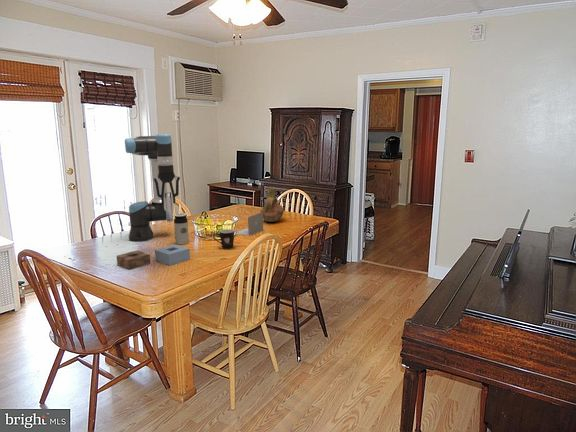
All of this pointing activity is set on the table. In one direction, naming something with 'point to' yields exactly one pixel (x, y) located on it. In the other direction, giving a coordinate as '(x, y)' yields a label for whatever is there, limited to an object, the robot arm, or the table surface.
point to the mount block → (133, 259)
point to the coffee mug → (226, 238)
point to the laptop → (253, 225)
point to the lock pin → (168, 206)
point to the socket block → (172, 254)
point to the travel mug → (181, 229)
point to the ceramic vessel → (272, 207)
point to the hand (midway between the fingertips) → (169, 209)
